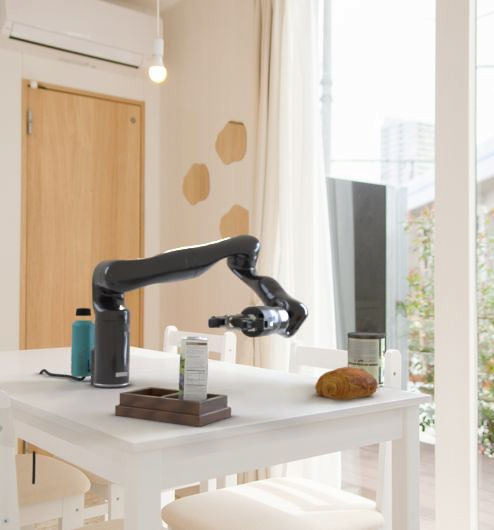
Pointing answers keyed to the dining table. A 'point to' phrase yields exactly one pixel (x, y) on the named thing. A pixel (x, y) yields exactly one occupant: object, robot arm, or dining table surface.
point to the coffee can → (367, 353)
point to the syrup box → (193, 368)
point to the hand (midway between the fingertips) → (225, 324)
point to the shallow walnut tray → (172, 407)
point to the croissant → (346, 384)
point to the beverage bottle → (82, 344)
